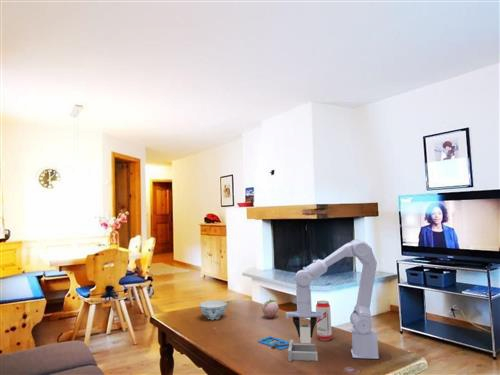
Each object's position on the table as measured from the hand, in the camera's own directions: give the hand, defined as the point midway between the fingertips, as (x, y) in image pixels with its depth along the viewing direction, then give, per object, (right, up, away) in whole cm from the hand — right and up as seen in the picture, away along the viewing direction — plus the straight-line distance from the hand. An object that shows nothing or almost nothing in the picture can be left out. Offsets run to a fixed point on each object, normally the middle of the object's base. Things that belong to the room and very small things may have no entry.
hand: (305, 336), depth 142 cm
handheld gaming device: (-11, -9, +14) cm, 20 cm away
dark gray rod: (-8, -8, +9) cm, 15 cm away
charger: (0, -2, 0) cm, 2 cm away
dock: (0, -7, -1) cm, 7 cm away
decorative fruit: (-11, -12, +53) cm, 55 cm away
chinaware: (-42, -13, +56) cm, 71 cm away
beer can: (+11, -8, +17) cm, 22 cm away
